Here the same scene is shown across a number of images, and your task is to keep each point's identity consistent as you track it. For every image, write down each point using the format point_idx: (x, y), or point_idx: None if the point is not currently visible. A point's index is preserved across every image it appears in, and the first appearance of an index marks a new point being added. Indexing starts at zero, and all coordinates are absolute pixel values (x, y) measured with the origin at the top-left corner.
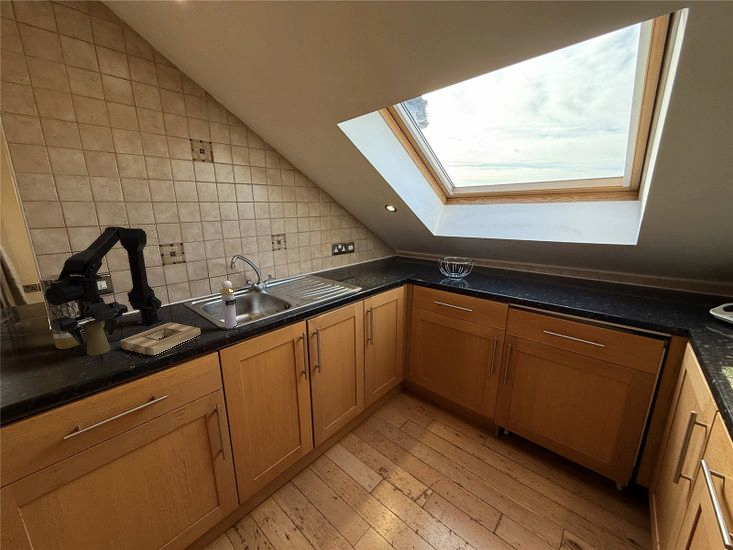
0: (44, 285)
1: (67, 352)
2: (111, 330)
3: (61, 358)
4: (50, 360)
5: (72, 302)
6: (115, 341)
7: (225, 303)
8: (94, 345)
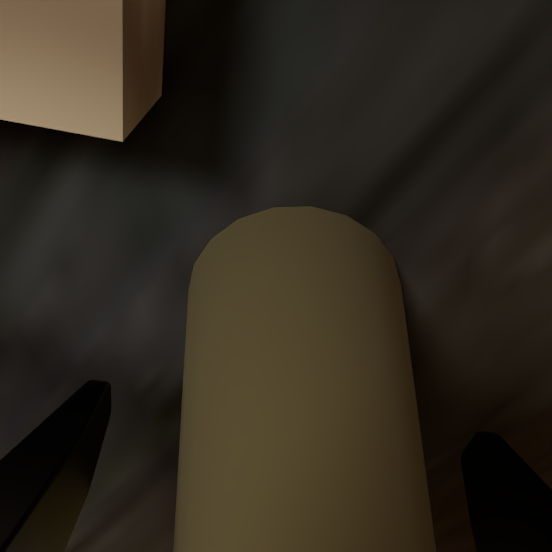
0: None
1: None
2: (60, 450)
3: (461, 444)
4: None
5: None
6: (57, 345)
7: None
8: (400, 341)
